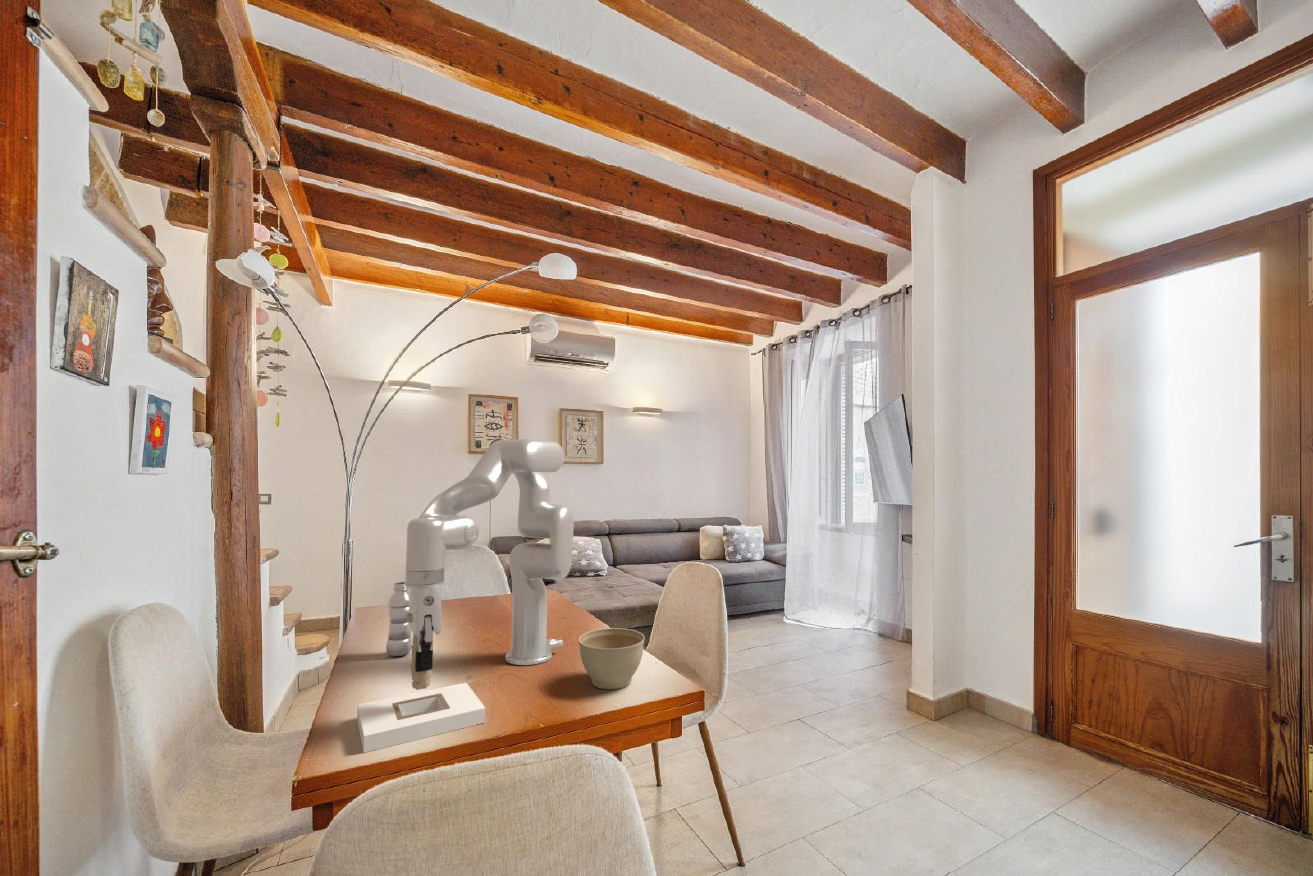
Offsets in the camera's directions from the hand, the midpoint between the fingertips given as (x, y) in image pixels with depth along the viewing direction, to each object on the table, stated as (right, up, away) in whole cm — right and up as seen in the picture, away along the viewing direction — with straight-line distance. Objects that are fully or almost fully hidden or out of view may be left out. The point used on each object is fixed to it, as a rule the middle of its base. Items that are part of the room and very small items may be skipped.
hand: (421, 666), depth 112 cm
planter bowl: (+38, -13, +20) cm, 45 cm away
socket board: (0, -11, -1) cm, 11 cm away
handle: (0, -4, 0) cm, 4 cm away
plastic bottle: (-24, -14, +40) cm, 49 cm away
